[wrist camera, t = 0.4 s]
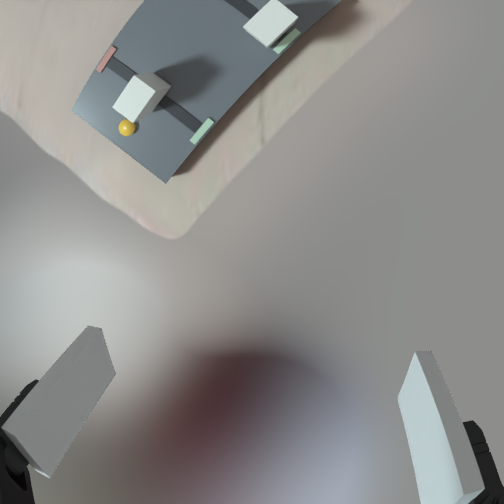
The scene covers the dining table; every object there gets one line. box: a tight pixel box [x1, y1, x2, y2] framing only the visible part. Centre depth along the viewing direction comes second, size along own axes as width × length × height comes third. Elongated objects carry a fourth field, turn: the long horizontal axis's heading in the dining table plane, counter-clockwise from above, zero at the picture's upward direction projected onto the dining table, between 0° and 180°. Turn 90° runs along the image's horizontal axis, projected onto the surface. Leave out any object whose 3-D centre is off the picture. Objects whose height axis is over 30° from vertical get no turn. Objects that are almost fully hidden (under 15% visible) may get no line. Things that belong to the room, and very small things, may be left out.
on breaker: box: [243, 0, 298, 48], centre depth 21 cm, size 4×2×4 cm
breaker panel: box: [71, 0, 342, 183], centre depth 25 cm, size 26×14×2 cm, turn 138°
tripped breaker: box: [112, 72, 171, 123], centre depth 25 cm, size 4×2×4 cm
